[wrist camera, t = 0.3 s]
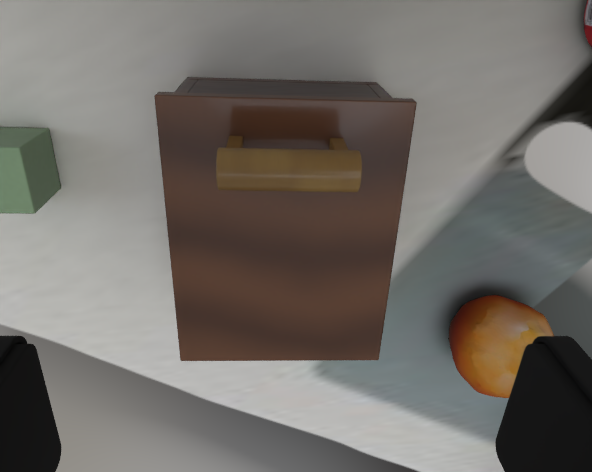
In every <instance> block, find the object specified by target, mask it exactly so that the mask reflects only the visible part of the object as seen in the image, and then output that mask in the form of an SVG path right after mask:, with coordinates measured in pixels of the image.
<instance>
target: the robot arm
mask: <svg viewBox="0 0 592 472" xmlns="http://www.w3.org/2000/svg"><path fill="white" fill-rule="evenodd" d="M496 452H497V456H498V458H499V461H500V463H501V465H502V467H503V469H504V471H505V472H592V360H591V359H590V357H589V356H588V355H587V354H586V353H585V351H583V349H582V348H581V347H580V346H579V345H578V343H577V342H576V341H575V340H574V339H572V338H571V337H568V336H539V337H537V338H536V339H534V341H533V343H532V344H528V345H527V346H526V348H525V350H524V353H523V356H522V359H521V362H520V365H519V369H518V372H517V375H516V378H515V381H514V384H513V387H512V391H511V394H510V397H509V400H508V403H507V406H506V409H505V413H504V416H503V419H502V422H501V425H500V428H499V431H498V435H497V438H496ZM60 456H61V443H60V439H59V435H58V431H57V427H56V423H55V420H54V416H53V412H52V408H51V404H50V400H49V396H48V393H47V388H46V385H45V381H44V377H43V373H42V370H41V365H40V361H39V358H38V354H37V350H36V348H35V346H34V345H33V344H27V341H26V339H25V338H24V337H22V336H0V472H55V471H56V469H57V467H58V464H59V461H60Z"/></svg>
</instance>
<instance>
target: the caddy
mask: <svg viewBox="0 0 592 472" xmlns="http://www.w3.org/2000/svg"><path fill="white" fill-rule="evenodd" d="M175 92H178V93H215V94H253V95H291V96H328V97H366V98H392V97H391V96H390V95H389V94H388V93H387V92H386V91H385V90H384V89H383V88H382V87H381V86H380V85H379V84H378V83H376V82H341V81H305V80H270V79H235V78H199V77H187V78H186V80H185V81H184V82H183V83H182V84H181V85H180V86H179V87H178V88H177V90H176V91H175Z"/></svg>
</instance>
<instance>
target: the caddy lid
mask: <svg viewBox="0 0 592 472" xmlns="http://www.w3.org/2000/svg"><path fill="white" fill-rule="evenodd" d="M416 104H417V103H416V101H414V100H413V99H403V98H366V97H328V96H291V95H253V94H215V93H178V92H158V93H157V94H156V95H155V105H156V115H157V126H158V136H159V146H160V156H161V166H162V176H163V187H164V197H165V207H166V217H167V227H168V237H169V248H170V258H171V268H172V278H173V288H174V298H175V308H176V319H177V329H178V339H179V349H180V359H181V361H256V360H378V359H379V353H380V346H381V339H382V333H383V326H384V319H385V312H386V306H387V299H388V292H389V286H390V279H391V272H392V265H393V259H394V252H395V245H396V238H397V232H398V225H399V218H400V211H401V205H402V198H403V191H404V184H405V178H406V171H407V164H408V157H409V151H410V144H411V137H412V131H413V124H414V117H415V110H416Z"/></svg>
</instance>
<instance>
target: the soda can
mask: <svg viewBox="0 0 592 472" xmlns="http://www.w3.org/2000/svg"><path fill="white" fill-rule="evenodd" d="M584 30H585V35H586V38H587V40H588V43H589V44H590V46H591V48H592V0H587V4H586V8H585V13H584Z"/></svg>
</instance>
